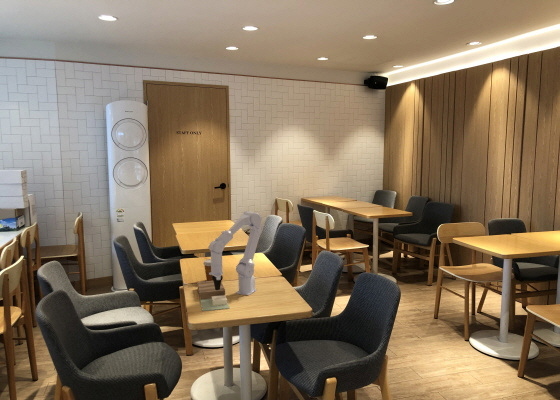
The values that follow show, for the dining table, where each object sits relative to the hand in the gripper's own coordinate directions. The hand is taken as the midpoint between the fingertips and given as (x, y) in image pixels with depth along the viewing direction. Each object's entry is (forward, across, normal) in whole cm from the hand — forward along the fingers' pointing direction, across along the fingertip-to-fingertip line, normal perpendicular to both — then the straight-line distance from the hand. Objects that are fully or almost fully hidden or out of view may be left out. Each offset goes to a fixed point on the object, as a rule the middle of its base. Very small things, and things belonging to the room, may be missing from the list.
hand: (217, 289), depth 223 cm
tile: (+3, +7, 0) cm, 8 cm away
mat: (+5, +8, -2) cm, 9 cm away
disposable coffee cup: (+5, -34, 0) cm, 35 cm away
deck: (+5, -10, -2) cm, 12 cm away
